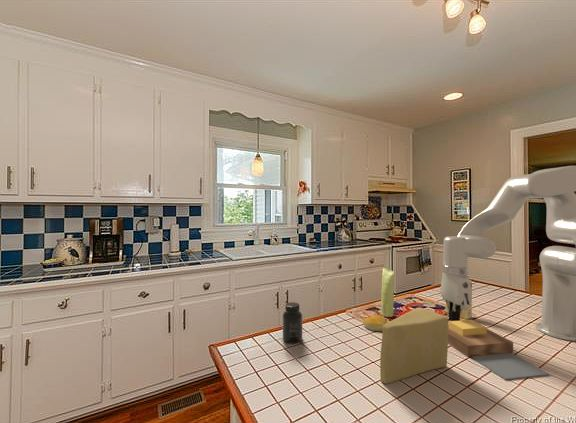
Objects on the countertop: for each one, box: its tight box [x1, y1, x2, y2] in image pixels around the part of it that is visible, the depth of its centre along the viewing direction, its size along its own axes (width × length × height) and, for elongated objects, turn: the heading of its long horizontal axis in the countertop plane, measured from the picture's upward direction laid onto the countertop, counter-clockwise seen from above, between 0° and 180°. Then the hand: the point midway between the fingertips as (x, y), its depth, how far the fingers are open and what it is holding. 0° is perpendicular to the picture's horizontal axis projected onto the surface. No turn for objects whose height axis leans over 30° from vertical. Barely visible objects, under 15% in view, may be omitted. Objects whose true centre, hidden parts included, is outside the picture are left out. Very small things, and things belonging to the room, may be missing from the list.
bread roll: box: [362, 314, 388, 332], centre depth 103 cm, size 8×9×4 cm
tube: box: [380, 267, 395, 318], centre depth 113 cm, size 6×5×20 cm
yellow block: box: [448, 319, 488, 336], centre depth 92 cm, size 9×6×2 cm, turn 99°
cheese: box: [379, 307, 449, 385], centre depth 75 cm, size 22×10×15 cm, turn 120°
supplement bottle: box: [282, 301, 303, 344], centre depth 93 cm, size 7×7×12 cm
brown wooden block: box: [448, 324, 514, 358], centre depth 90 cm, size 16×14×4 cm
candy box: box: [444, 280, 473, 320], centre depth 114 cm, size 9×4×15 cm, turn 33°
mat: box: [471, 352, 550, 381], centre depth 78 cm, size 14×11×1 cm
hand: (454, 320), depth 98 cm, fingers closed
